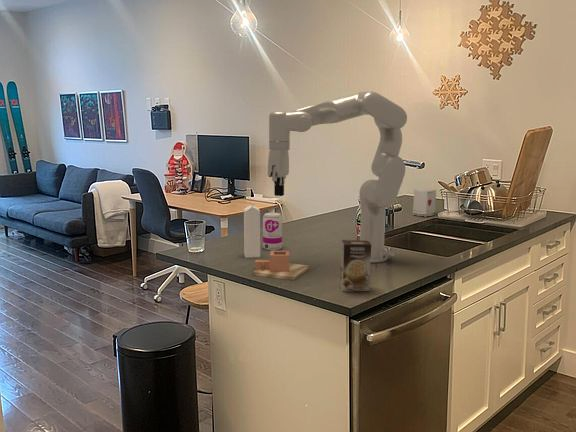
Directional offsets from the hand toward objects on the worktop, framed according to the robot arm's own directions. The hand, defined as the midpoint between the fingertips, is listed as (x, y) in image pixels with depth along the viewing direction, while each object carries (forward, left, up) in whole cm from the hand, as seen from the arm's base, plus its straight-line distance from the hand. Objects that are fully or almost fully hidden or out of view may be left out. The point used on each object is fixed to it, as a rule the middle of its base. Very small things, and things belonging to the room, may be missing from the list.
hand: (279, 195), depth 214 cm
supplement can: (+13, -24, -27) cm, 39 cm away
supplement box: (-35, -126, -27) cm, 134 cm away
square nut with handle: (-1, +9, -26) cm, 27 cm away
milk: (+16, -10, -27) cm, 33 cm away
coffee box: (-34, +16, -27) cm, 46 cm away
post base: (-4, +7, -27) cm, 28 cm away
